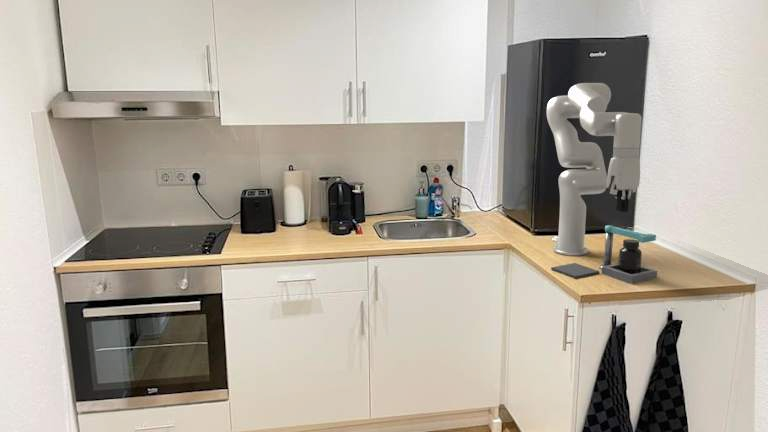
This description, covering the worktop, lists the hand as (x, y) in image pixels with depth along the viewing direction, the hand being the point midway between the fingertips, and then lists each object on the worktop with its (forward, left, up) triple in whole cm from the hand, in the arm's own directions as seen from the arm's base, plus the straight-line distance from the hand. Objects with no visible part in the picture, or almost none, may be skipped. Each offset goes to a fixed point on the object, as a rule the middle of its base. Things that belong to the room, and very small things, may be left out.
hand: (622, 211), depth 179 cm
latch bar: (-2, +6, -9) cm, 12 cm away
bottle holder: (0, +6, -23) cm, 23 cm away
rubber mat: (-12, -6, -23) cm, 27 cm away
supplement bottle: (0, +6, -23) cm, 24 cm away
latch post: (-9, +6, -23) cm, 25 cm away
